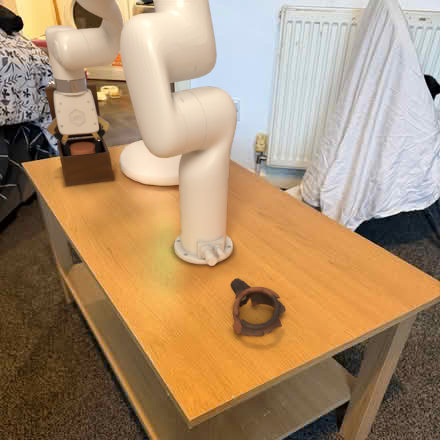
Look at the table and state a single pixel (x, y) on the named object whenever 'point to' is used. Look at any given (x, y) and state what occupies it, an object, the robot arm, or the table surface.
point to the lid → (52, 109)
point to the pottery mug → (257, 297)
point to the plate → (149, 166)
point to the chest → (86, 164)
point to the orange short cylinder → (82, 148)
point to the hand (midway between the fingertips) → (83, 155)
